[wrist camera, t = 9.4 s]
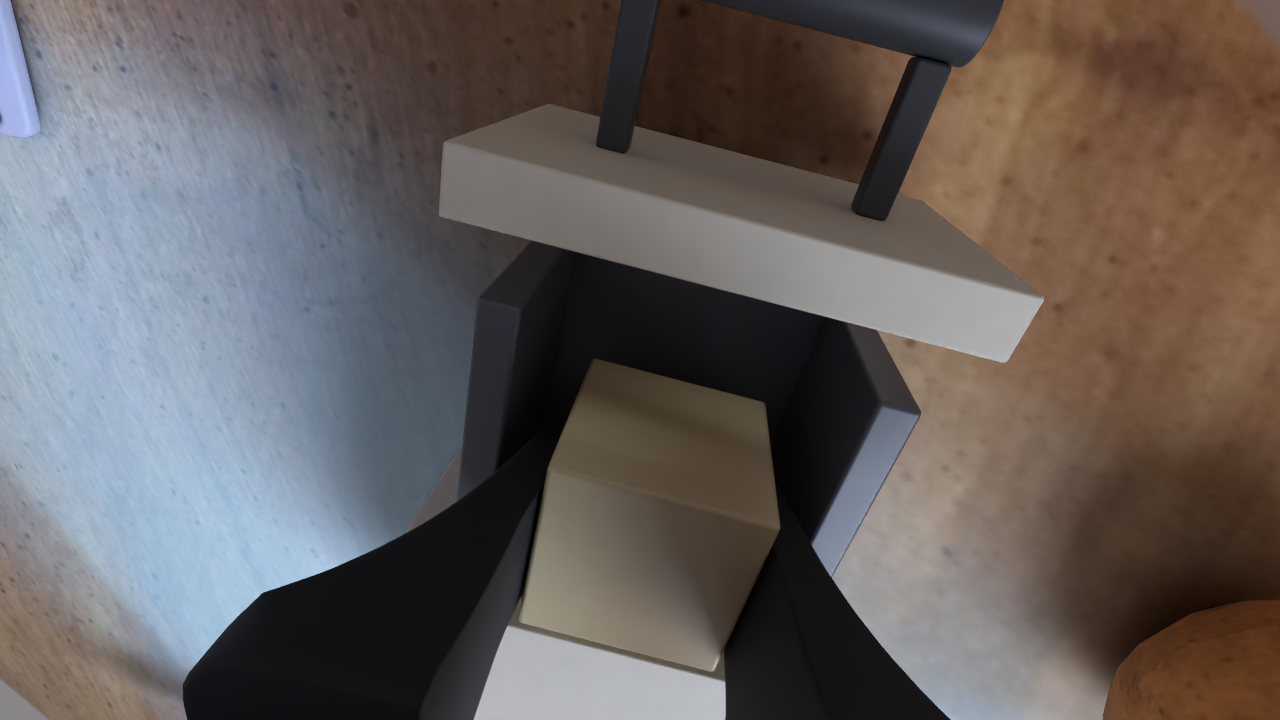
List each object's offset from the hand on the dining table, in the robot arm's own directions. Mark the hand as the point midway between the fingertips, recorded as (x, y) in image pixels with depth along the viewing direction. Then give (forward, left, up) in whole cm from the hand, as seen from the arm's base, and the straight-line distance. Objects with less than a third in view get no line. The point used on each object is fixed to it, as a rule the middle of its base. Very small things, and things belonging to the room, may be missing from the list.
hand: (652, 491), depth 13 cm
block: (0, 0, -1) cm, 1 cm away
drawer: (0, +3, -5) cm, 6 cm away
